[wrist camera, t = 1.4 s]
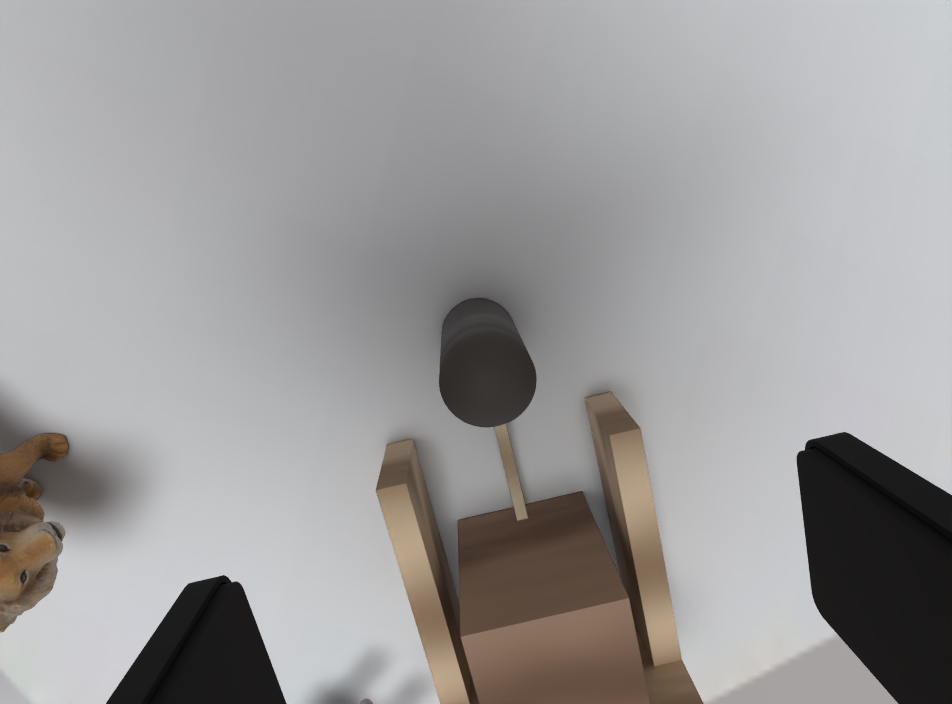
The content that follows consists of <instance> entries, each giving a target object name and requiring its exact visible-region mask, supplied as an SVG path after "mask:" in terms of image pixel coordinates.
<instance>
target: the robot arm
mask: <svg viewBox="0 0 952 704" xmlns="http://www.w3.org/2000/svg"><path fill="white" fill-rule="evenodd" d="M797 468H798V477H799V485H800V494H801V502H802V511H803V520H804V528H805V537H806V546H807V554H808V563H809V572H810V580H811V589H812V595H813V599H814V602H815V604H816V606H817V609H818V610H819V612H820V614H821V615H822V617H823V618H824V619H825V620H826V621H827V623H828V624H829V625H830V626H831V627H832V628H833V629H834V631H835V632H836V633H837V634H838V635H839V636H840V637H841V639H842V640H843V641H844V642H845V643H846V644H847V645H848V646H849V648H850V649H851V650H852V651H853V652H854V653H855V654H856V656H857V657H858V658H859V659H860V660H861V661H862V662H863V664H864V665H865V666H866V667H867V668H868V669H869V670H870V672H871V673H872V674H873V675H874V676H875V677H876V679H877V680H878V681H879V682H880V683H881V684H882V685H883V687H884V688H885V689H886V690H887V691H888V692H889V693H890V695H891V696H892V697H893V698H894V699H895V700H896V701H897V702H898V704H952V495H950V494H949V493H947V492H945V491H944V490H942V489H940V488H939V487H937V486H935V485H934V484H932V483H930V482H929V481H927V480H925V479H924V478H922V477H920V476H919V475H917V474H916V473H914V472H912V471H911V470H909V469H907V468H906V467H904V466H902V465H901V464H899V463H897V462H896V461H894V460H892V459H891V458H889V457H887V456H886V455H884V454H882V453H881V452H879V451H877V450H876V449H874V448H872V447H871V446H869V445H867V444H866V443H864V442H862V441H861V440H859V439H857V438H856V437H854V436H852V435H851V434H849V433H846V432H843V433H838V434H834V435H829V436H825V437H821V438H816V439H812V440H809V441H808V442H807V443H806V446H805V450H804V451H800V452H799V453H798V455H797ZM106 704H286V701H285V699H284V696H283V693H282V691H281V688H280V685H279V683H278V680H277V677H276V675H275V672H274V669H273V667H272V664H271V661H270V659H269V656H268V653H267V651H266V648H265V645H264V643H263V640H262V637H261V635H260V632H259V629H258V626H257V624H256V621H255V618H254V616H253V613H252V610H251V608H250V605H249V602H248V600H247V597H246V594H245V592H244V589H243V587H242V585H241V584H240V583H239V582H231V580H230V579H229V578H228V577H226V576H224V575H223V576H219V577H215V578H210V579H206V580H202V581H197V582H193V583H189V584H188V585H187V586H186V587H185V588H184V590H183V591H182V592H181V594H180V595H179V597H178V598H177V600H176V601H175V603H174V604H173V606H172V607H171V609H170V610H169V612H168V613H167V615H166V616H165V617H164V619H163V620H162V622H161V623H160V625H159V626H158V628H157V629H156V631H155V632H154V634H153V635H152V637H151V638H150V640H149V641H148V642H147V644H146V645H145V647H144V648H143V650H142V651H141V653H140V654H139V656H138V657H137V659H136V660H135V662H134V663H133V665H132V666H131V667H130V669H129V670H128V672H127V673H126V675H125V676H124V678H123V679H122V681H121V682H120V684H119V685H118V687H117V688H116V690H115V691H114V692H113V694H112V695H111V697H110V698H109V700H108V701H107V703H106Z"/></svg>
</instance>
